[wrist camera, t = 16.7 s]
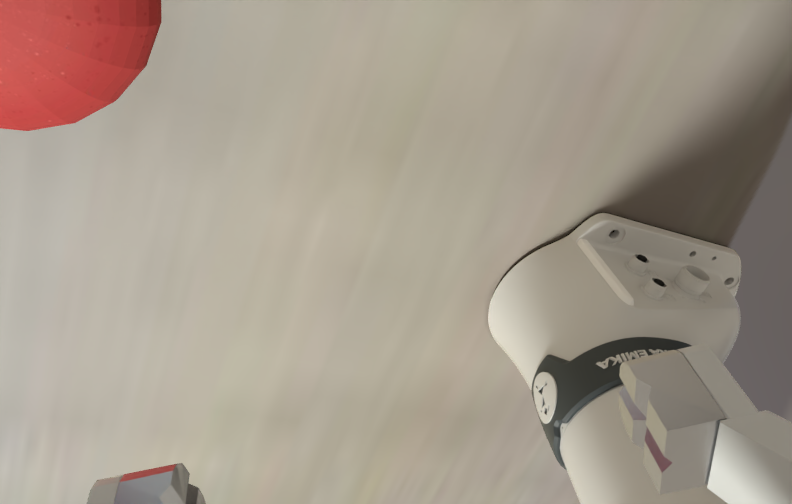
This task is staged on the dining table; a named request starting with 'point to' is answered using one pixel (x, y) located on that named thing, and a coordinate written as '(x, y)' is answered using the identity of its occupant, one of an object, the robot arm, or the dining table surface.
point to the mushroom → (70, 57)
